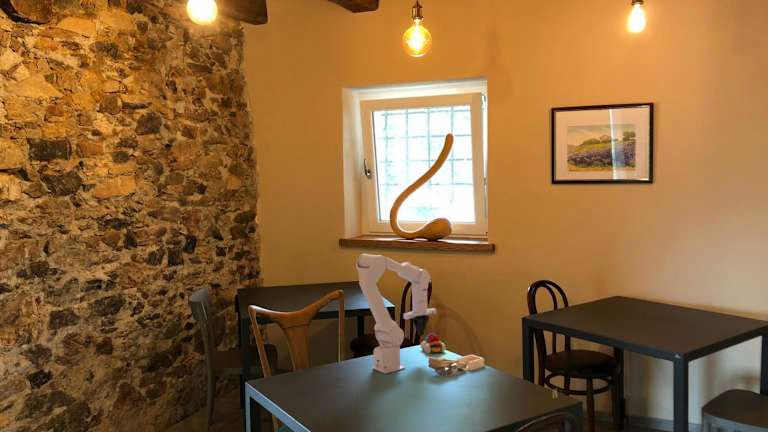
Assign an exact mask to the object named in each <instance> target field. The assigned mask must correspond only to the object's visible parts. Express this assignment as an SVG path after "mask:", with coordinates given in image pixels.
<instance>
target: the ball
mask: <svg viewBox="0 0 768 432" xmlns="http://www.w3.org/2000/svg"><path fill="white" fill-rule="evenodd" d="M476 356H477V355H475V356H471V357H470V359H469V362H470V361H474V360H477V359H478V358H477V357H476Z"/></svg>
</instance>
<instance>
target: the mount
mask: <svg viewBox="0 0 768 432" xmlns="http://www.w3.org/2000/svg"><path fill="white" fill-rule="evenodd" d="M434 372H436V373H439V374H441V375H444V376H447V377H449V378H452V377H456V376H459V375H461V374H462V372H461V371H460V370H458V369H457V364H456V363H455V364H451V365H450V367H445V371H442V370H435V369H434Z"/></svg>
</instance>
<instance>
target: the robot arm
mask: <svg viewBox="0 0 768 432" xmlns="http://www.w3.org/2000/svg"><path fill="white" fill-rule="evenodd" d="M355 267H356V269H357V273H358V281H359V282H358V284H359V287H360V289H361V291H362V293H363V295H364V298H365V300H366V302H367V305H368V307H369V309H370V312H371V314H372V316H373V318H374V320H375V322H376V323H375V324H374V326H373V329H374V332H375V338H376V340H377V341H378V345H379V346H377V347H375V348H374V349H373V352H372V353H373V357H372V358H373V366H372V369H373V370H376V371H377V372H380V373H381V374H388V373H391V372H392V373H393V372H397V371H400V370H404V369H406V366H403V365H401V349H400V347H401V345H402V343H403V341H404V339H405V333H404V331H403V329H401V327H400V326H399V325H398V323H397V322H396V321H395V320H393V319H392V318H391V315H390V313H389V310H388V308H387V306H386V303H385V301H384V298H383V297H382V294H381V292H380V290H379V287H378V286H377V282H379V280H380V278H381V277H382V275H383V273H384V272H385V271H387V270H389V271H390V270H391V271H393V272H395V273H397V275H398V277H400V278H403V279H405V280H408V281H409V282H410V283H411V285H412V286H411V296H412V299H411V300H412V302H411V303H412V310H411V311H408V312H405V313H403V319H404V320H409V319H410V320H411V321H412V323H413V324H414V326H415V330H416V333H417V335H418V336H421V337H422V336H424V333H425V330H426V326H427V324H428V322H429V320H430V316H429V315H436V314H437V309H436V308H434V307H432V308H428V288H429V283H430V279H431V276H430V273H429V271H427V269H421V268H420V267H419V266H418V265H413V264H411V262H410V261H406V262H402V263H400V262H398V261H395V260H393V259H392V258H390V257H387V256H383V255H378V254H377V255H376V254H368V253H361V254H360V255H359V256H358V258H357V261H356V263H355Z"/></svg>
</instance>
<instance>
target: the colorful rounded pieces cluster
mask: <svg viewBox="0 0 768 432" xmlns="http://www.w3.org/2000/svg"><path fill="white" fill-rule="evenodd" d="M440 339H441V338H440V336H438V335H437V334H436V333H433V332H432V333H429V334H428V335H427V336H426V337H425V340H423V341H422V342H421V344H420V349H421V350H422V351H424V352H425V353H426V354H427V355H429V354H431V352H434V353H444V352H445V351H446V348H447V347H446V344H445V343H444V342H442V341H441V340H440Z"/></svg>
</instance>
